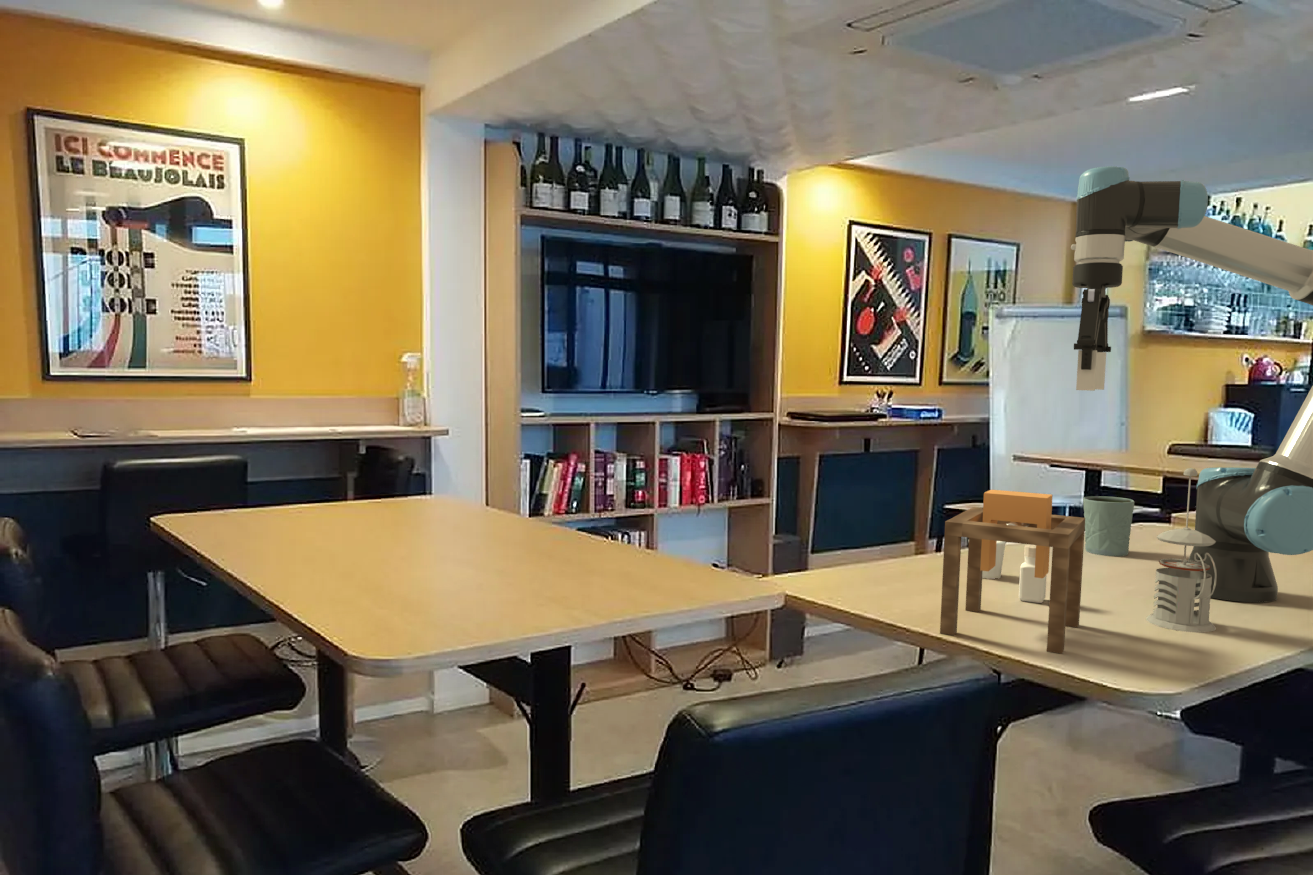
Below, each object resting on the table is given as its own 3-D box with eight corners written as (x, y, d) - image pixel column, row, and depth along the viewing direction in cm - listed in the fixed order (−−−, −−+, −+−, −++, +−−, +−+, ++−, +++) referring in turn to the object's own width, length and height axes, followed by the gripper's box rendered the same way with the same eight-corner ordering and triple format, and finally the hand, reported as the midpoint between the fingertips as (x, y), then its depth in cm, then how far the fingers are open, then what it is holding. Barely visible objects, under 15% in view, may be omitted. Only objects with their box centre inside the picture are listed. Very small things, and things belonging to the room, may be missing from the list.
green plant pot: (1139, 557, 198) (1143, 502, 197) (1092, 556, 199) (1096, 501, 198) (1117, 548, 209) (1120, 496, 208) (1072, 547, 209) (1075, 495, 208)
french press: (1191, 615, 151) (1201, 465, 149) (1238, 636, 140) (1250, 473, 138) (1133, 614, 151) (1142, 464, 149) (1175, 635, 139) (1186, 472, 138)
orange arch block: (1048, 572, 140) (1052, 494, 139) (1043, 578, 136) (1047, 498, 135) (987, 564, 145) (990, 489, 144) (980, 570, 141) (983, 492, 140)
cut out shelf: (1079, 624, 144) (1085, 517, 143) (1062, 653, 129) (1068, 534, 128) (968, 607, 153) (973, 507, 152) (939, 633, 138) (945, 521, 137)
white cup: (1006, 580, 174) (1008, 544, 173) (969, 578, 175) (970, 542, 174) (1001, 573, 180) (1002, 537, 180) (964, 570, 182) (966, 535, 181)
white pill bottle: (1042, 604, 156) (1045, 549, 156) (1017, 601, 158) (1020, 546, 158) (1045, 599, 160) (1048, 545, 159) (1021, 596, 162) (1023, 543, 161)
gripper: (1083, 271, 166) (1076, 388, 168) (1062, 255, 145) (1055, 390, 147) (1129, 269, 162) (1122, 389, 164) (1115, 253, 141) (1107, 391, 143)
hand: (1090, 390), depth 155 cm, fingers open, 13 cm apart
